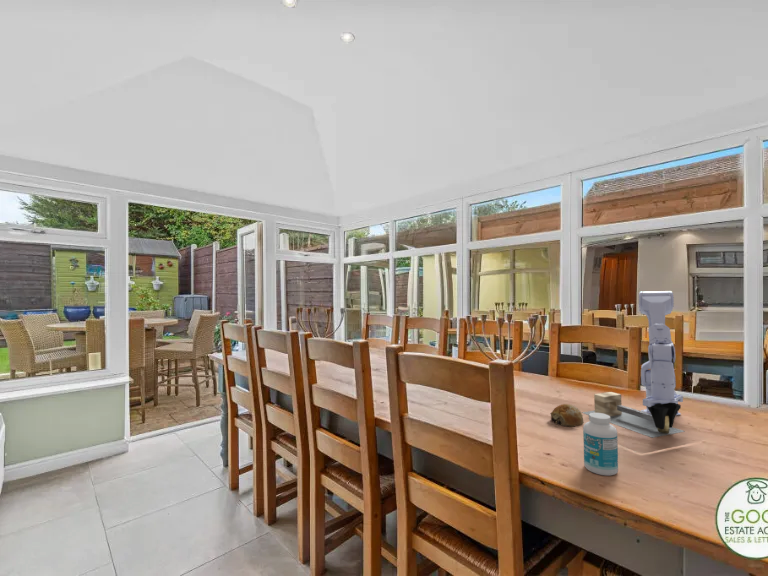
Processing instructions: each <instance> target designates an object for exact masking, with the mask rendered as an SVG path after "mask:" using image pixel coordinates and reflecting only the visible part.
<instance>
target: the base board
mask: <svg viewBox="0 0 768 576" xmlns="http://www.w3.org/2000/svg"><path fill="white" fill-rule="evenodd" d="M580 412H581V411H580ZM590 413H595V409H594V410H589V411H583V412H581V414H584V415H587V416H589V414H590ZM610 419H611V422H610V423H609V424H611V425H614V426H618V427H621V428H624V429H627V430H629V431H632V432H635V433H637V434H641V435H643V436H645V437H649V438H651V439H654V438H658V437H663V436H664V437H665V436H669V435H674V434H678V433H679V434H680V433H683V432H684V433H685V432H686V431H685V430H683V429H679V428H676V427H674V426H672V428H670V427H669V430H670V432H669V433H662V432H659V431H658V430H657V428H656V426H655V423H654V422H653V421H650V420H647V419H644V418H641V417H637V416H634V415H631V414H628V413H625V412H622V415H615V416H610Z"/></svg>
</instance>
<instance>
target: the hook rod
mask: <svg viewBox="0 0 768 576" xmlns="http://www.w3.org/2000/svg"><path fill="white" fill-rule="evenodd" d="M617 410H618V411H621V412H625V413H628V414H631V415H634V416H637V417H641V418H644V419H647V420H650V421H653V422H654V420H653V417H652V415H651V414H650V413H647V412H643V411H644V410H643V411H641V410H638V409H636V408H632V407H629V406H626V405H617ZM657 430H658V431H659V432H662V433H669V432H670V430H669V415H667V414H666V417H665V427H664V429H659V428H657Z"/></svg>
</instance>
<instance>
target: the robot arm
mask: <svg viewBox="0 0 768 576" xmlns="http://www.w3.org/2000/svg"><path fill="white" fill-rule="evenodd" d="M674 299H675V297H674V292H673V291H672V290H665V291H664V290H663V291H662V290H661V291H660V290H659V291H657V290H656V291H655V290H654V291H639V292H638V308H639V312H640V314H642V315H645V316H646V318H647V321H648V340H649V341H648V343H649V344H648V346H647V349H648V351H647V352H648V354H647V355H648V361H645V362H644V363H642V365H641V369H640V380H641V381H640V382H641V385H642V387H645V398H643V399H642V406H644V407H646V409H641V410H640V411H643V412H646V413H649V414H651V415H652V417H653V420H654V423H655V426H656V428H659V429H664V427H665V417H666V414H667V415H669V427H670V428H672V427H674V422H675V420H676V416H681V415H682V413H681V412H679V411H680V410H681V406H682V405H681V404H679V403H683V402H684V396H683V395H682V394H678V393H676V391H675V388H676V374H675V368H674V363H675V361H676V348H675V345H674V342H673V341H672V334H671V333H672V332H671V329H670V327H669V326H667V325H666V316H667V315H670V314H672V312H673V309H674V305H675V303H674V302H675V300H674Z"/></svg>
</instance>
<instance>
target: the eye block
mask: <svg viewBox="0 0 768 576" xmlns="http://www.w3.org/2000/svg"><path fill="white" fill-rule="evenodd" d="M593 396H594V397H593V398H594V403H593V404H594V410H595V413H603V414H607V415H609V416H615V415H622V412H621V411H618V410H617V405H622V394H620V393H617V392H613V391H608V392H601V393H600V392H598V393H594V395H593ZM622 406H623V405H622Z"/></svg>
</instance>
